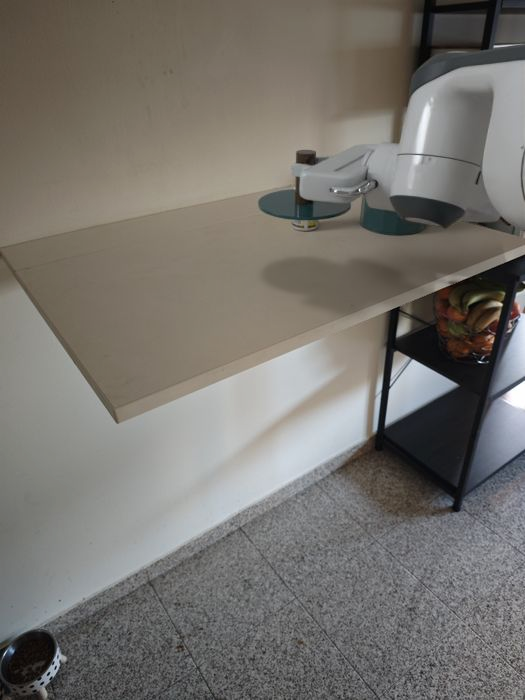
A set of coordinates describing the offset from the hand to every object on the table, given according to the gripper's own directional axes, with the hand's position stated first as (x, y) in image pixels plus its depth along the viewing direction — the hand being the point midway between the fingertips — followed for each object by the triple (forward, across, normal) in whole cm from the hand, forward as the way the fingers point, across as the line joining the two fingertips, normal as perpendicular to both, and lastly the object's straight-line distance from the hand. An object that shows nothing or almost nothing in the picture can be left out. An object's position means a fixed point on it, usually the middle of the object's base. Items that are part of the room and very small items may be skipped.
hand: (300, 165), depth 76 cm
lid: (-1, 0, -6) cm, 6 cm away
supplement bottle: (+10, +22, -19) cm, 31 cm away
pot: (-6, +33, -18) cm, 39 cm away
